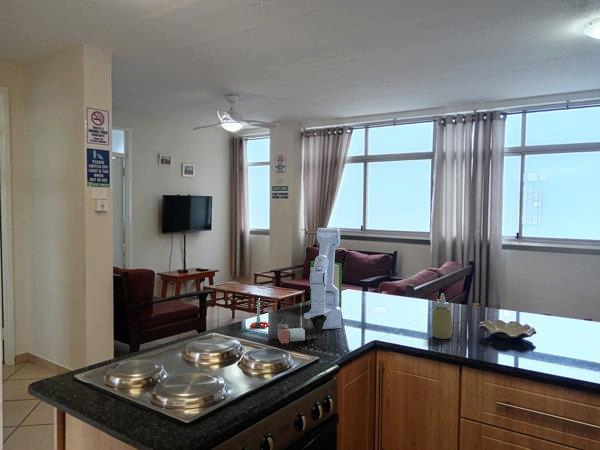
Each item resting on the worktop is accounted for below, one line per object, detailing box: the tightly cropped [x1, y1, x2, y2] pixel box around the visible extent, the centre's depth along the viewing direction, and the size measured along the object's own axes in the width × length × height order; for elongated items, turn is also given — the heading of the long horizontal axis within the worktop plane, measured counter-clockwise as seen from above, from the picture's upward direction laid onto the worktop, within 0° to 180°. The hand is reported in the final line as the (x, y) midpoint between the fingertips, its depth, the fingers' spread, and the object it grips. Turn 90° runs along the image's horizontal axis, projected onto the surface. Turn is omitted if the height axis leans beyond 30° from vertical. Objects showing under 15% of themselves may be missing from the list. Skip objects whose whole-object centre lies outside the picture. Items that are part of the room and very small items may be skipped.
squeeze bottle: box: [431, 293, 453, 340], centre depth 177 cm, size 8×8×18 cm
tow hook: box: [250, 298, 271, 329], centre depth 193 cm, size 8×13×9 cm
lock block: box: [288, 327, 306, 342], centre depth 172 cm, size 6×4×4 cm, turn 103°
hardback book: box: [309, 260, 343, 310], centre depth 234 cm, size 18×7×24 cm, turn 36°
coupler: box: [277, 323, 291, 344], centre depth 172 cm, size 8×8×6 cm
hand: (318, 333), depth 175 cm, fingers closed
